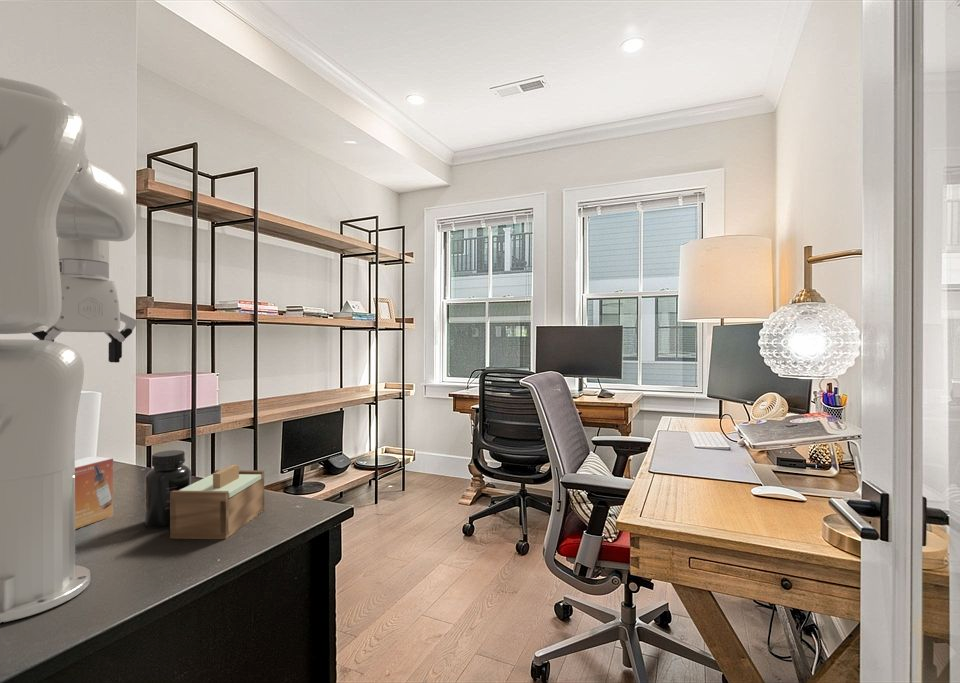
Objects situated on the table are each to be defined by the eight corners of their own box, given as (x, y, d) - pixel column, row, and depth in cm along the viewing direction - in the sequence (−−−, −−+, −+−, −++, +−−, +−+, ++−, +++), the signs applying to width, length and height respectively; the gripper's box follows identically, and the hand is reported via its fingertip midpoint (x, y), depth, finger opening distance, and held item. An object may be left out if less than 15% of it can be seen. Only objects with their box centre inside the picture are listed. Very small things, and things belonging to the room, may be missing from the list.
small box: (68, 533, 80) (68, 469, 80) (41, 530, 81) (41, 467, 81) (114, 515, 88) (114, 457, 87) (89, 513, 89) (88, 455, 89)
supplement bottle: (136, 524, 83) (136, 454, 83) (176, 512, 89) (176, 446, 89) (159, 532, 80) (159, 459, 80) (199, 518, 86) (199, 451, 86)
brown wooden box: (225, 539, 77) (225, 492, 77) (170, 538, 78) (170, 492, 78) (264, 510, 90) (264, 470, 90) (216, 509, 91) (216, 470, 91)
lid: (229, 497, 78) (229, 478, 78) (174, 497, 79) (174, 477, 79) (261, 478, 89) (261, 461, 89) (213, 478, 90) (212, 460, 89)
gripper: (30, 264, 82) (30, 365, 82) (144, 276, 97) (144, 362, 97) (15, 268, 86) (15, 364, 86) (127, 278, 101) (127, 361, 101)
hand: (84, 363), depth 92 cm, fingers open, 9 cm apart
